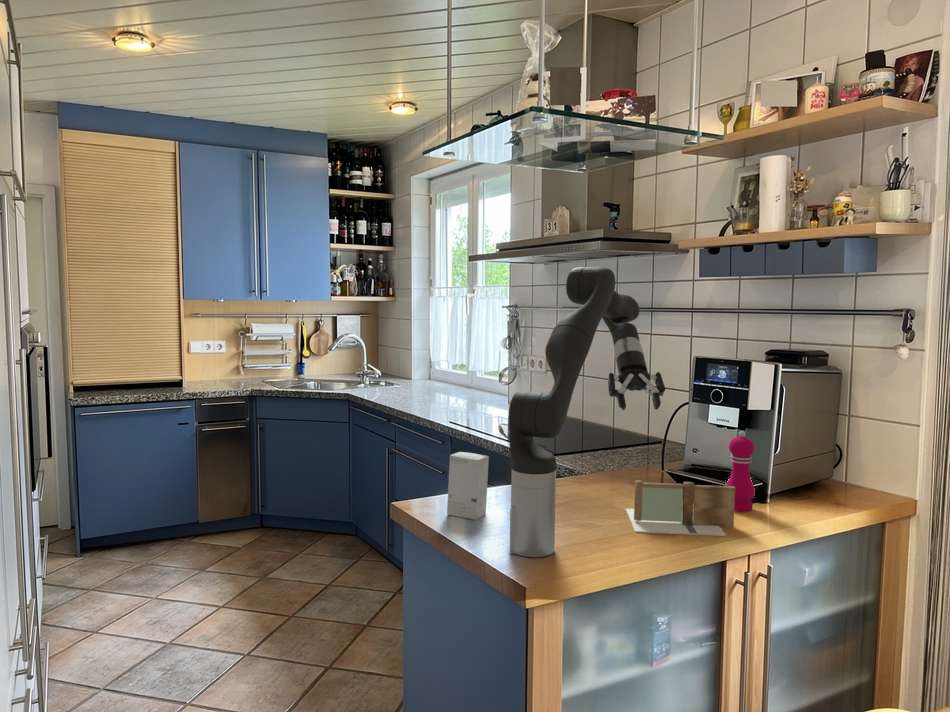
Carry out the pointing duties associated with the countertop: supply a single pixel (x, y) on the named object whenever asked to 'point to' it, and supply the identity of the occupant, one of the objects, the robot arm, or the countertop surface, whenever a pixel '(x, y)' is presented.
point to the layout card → (673, 527)
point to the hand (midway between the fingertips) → (640, 408)
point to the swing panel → (658, 501)
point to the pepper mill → (741, 472)
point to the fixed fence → (708, 505)
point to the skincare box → (467, 485)
